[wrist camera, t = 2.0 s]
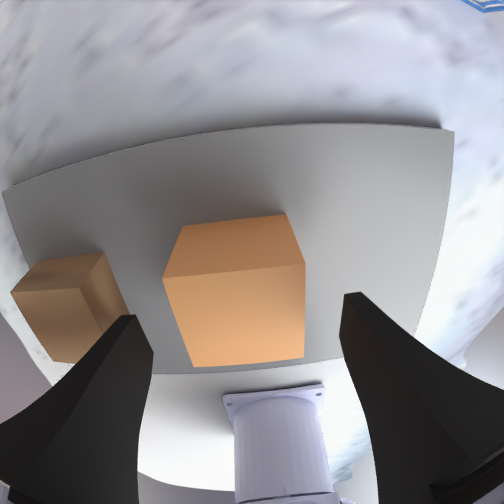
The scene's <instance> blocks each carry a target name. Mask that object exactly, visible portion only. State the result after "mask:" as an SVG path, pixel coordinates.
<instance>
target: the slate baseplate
mask: <svg viewBox="0 0 504 504" xmlns="http://www.w3.org/2000/svg"><path fill="white" fill-rule="evenodd" d="M453 153H454V132H453V131H449V130H446V129H441V128H433V127H423V126H413V125H401V124H384V123H354V122H328V123H297V124H280V125H267V126H256V127H246V128H237V129H229V130H221V131H214V132H207V133H201V134H194V135H188V136H183V137H177V138H172V139H167V140H162V141H157V142H152V143H147V144H143V145H139V146H134V147H130V148H126V149H122V150H118V151H114V152H110V153H107V154H103V155H100V156H96V157H93V158H89V159H86V160H83V161H79V162H76V163H73V164H70V165H67V166H64V167H61V168H58V169H55V170H52V171H49V172H46V173H44V174H41V175H38V176H36V177H33V178H30V179H28V180H25V181H23V182H20V183H18V184H16V185H13V186H11V187H9V188H8V189H6V190H4V191H2V195H3V198H4V202H5V205H6V208H7V211H8V214H9V217H10V220H11V223H12V226H13V229H14V231H15V234H16V237H17V239H18V242H19V244H20V247H21V249H22V252H23V254H24V257H25V259H26V261H27V264H28V266H29V268H30V269H31V268H32V267H33V266H34V265H35V264H36V263H37V261H44V260H50V259H57V258H64V257H71V256H78V255H85V254H92V253H100V252H105V253H106V256H107V259H108V261H109V264H110V267H111V269H112V272H113V274H114V277H115V280H116V282H117V285H118V287H119V289H120V292H121V294H122V297H123V299H124V301H125V304H126V306H127V308H128V310H129V313H130V315H132V314H136V316H137V318H138V320H139V322H140V325H141V327H142V329H143V331H144V333H145V335H146V337H147V339H148V342H149V344H150V346H151V348H152V350H153V352H154V357H153V367H152V374H198V373H220V372H235V371H248V370H259V369H268V368H277V367H286V366H293V365H301V364H307V363H314V362H320V361H326V360H332V359H338V358H343V357H344V355H343V351H342V347H341V343H340V339H339V330H340V323H341V315H342V307H343V299H344V294H347V293H353V292H360V291H361V292H362V293H363V294H364V295H365V296H367V297H368V298H369V299H370V300H371V301H372V302H373V303H374V304H376V305H377V306H378V307H379V308H380V309H381V310H382V311H383V312H384V313H386V314H387V315H388V316H389V317H390V318H391V319H392V320H393V321H395V322H396V323H397V324H398V325H399V326H400V327H402V328H403V329H404V330H405V331H406V332H408V333H409V334H410V335H411V336H413V337H414V334H415V331H416V329H417V326H418V323H419V320H420V317H421V314H422V311H423V308H424V305H425V302H426V299H427V295H428V292H429V289H430V285H431V282H432V278H433V274H434V270H435V266H436V262H437V258H438V254H439V250H440V245H441V240H442V236H443V231H444V225H445V220H446V214H447V208H448V201H449V194H450V186H451V177H452V166H453ZM283 214H287V217H288V219H289V222H290V224H291V227H292V229H293V232H294V235H295V237H296V240H297V242H298V245H299V247H300V250H301V253H302V255H303V258H304V261H305V263H306V295H305V341H304V357H303V358H296V359H288V360H280V361H272V362H262V363H252V364H241V365H227V366H210V367H194V366H193V364H192V361H191V359H190V356H189V354H188V351H187V349H186V346H185V343H184V341H183V338H182V335H181V333H180V330H179V327H178V325H177V322H176V319H175V316H174V313H173V311H172V308H171V305H170V302H169V299H168V296H167V293H166V290H165V287H164V284H163V281H162V277H163V274H164V271H165V269H166V266H167V264H168V261H169V259H170V256H171V254H172V251H173V249H174V246H175V244H176V241H177V239H178V236H179V234H180V231H181V229H182V227H183V226H188V225H196V224H203V223H212V222H220V221H228V220H237V219H246V218H255V217H264V216H274V215H283Z"/></svg>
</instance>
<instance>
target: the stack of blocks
mask: <svg viewBox="0 0 504 504" xmlns="http://www.w3.org/2000/svg"><path fill="white" fill-rule="evenodd" d="M462 1H463V2H465V3H467V4H469V5H471V6H473V7H474V8H476V9H478V10H479V11H481V12H483V13H487V12H494V11H504V0H462Z"/></svg>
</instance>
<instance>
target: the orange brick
mask: <svg viewBox="0 0 504 504" xmlns="http://www.w3.org/2000/svg"><path fill="white" fill-rule="evenodd" d="M162 281H163V284H164V287H165V290H166V293H167V296H168V299H169V302H170V305H171V308H172V311H173V313H174V316H175V319H176V322H177V325H178V327H179V330H180V333H181V335H182V338H183V341H184V343H185V346H186V349H187V351H188V354H189V356H190V359H191V361H192V364H193V366H194V367H210V366H227V365H241V364H252V363H262V362H272V361H280V360H288V359H296V358H303V357H304V341H305V295H306V263H305V261H304V258H303V255H302V253H301V250H300V247H299V245H298V242H297V240H296V237H295V235H294V232H293V229H292V227H291V224H290V222H289V219H288V217H287V214H283V215H274V216H264V217H255V218H246V219H237V220H228V221H220V222H212V223H203V224H196V225H188V226H183V227H182V229H181V231H180V234H179V236H178V239H177V241H176V244H175V246H174V249H173V251H172V254H171V256H170V259H169V261H168V264H167V266H166V269H165V271H164V274H163V277H162Z"/></svg>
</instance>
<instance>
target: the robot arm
mask: <svg viewBox="0 0 504 504" xmlns="http://www.w3.org/2000/svg"><path fill="white" fill-rule="evenodd" d="M339 339H340V343H341V347H342V351H343V355H344V359H345V362H346V365H347V368H348V370H349V373H350V376H351V378H352V381H353V384H354V386H355V389H356V392H357V394H358V397H359V400H360V402H361V405H362V408H363V411H364V414H365V417H366V421H367V425H368V430H369V434H370V439H371V444H372V450H373V455H374V461H375V468H376V476H377V485H378V499H379V504H504V390H503V389H500V388H498V387H495V386H493V385H491V384H488V383H485V382H484V381H482V380H480V379H478V378H475V377H474V376H472V375H470V374H468V373H466V372H464V371H463V370H461V369H459V368H457V367H456V366H454V365H452V364H451V363H449V362H447V361H446V360H444V359H443V358H441V357H440V356H438V355H437V354H435V353H434V352H432V351H431V350H430V349H428V348H427V347H426V346H424V345H423V344H422V343H420V342H419V341H418V340H416V339H415V338H414V337H413V336H411V335H410V334H409V333H408V332H406V331H405V330H404V329H403V328H402V327H400V326H399V325H398V324H397V323H396V322H395V321H393V320H392V319H391V318H390V317H389V316H388V315H387V314H386V313H384V312H383V311H382V310H381V309H380V308H379V307H378V306H377V305H376V304H374V303H373V302H372V301H371V300H370V299H369V298H368V297H367V296H365V295H364V294H363V293H362V292H361V291H360V292H353V293H347V294H344V299H343V307H342V315H341V323H340V330H339ZM153 357H154V352H153V350H152V348H151V346H150V344H149V342H148V339H147V337H146V335H145V333H144V331H143V329H142V327H141V325H140V322H139V320H138V318H137V316H136V314H132V315H121V316H120V317H119V318H118V319H117V320H116V321H115V322H114V323H113V324H112V325H111V326H110V327H109V328H108V329H107V330H106V331H105V333H104V334H103V335H102V336H101V337H100V338H99V339H98V340H97V341H96V343H95V344H94V345H93V346H92V347H91V348H90V349H89V350H88V352H87V353H86V354H85V355H84V356H83V357H82V358H81V359H80V360H79V361H78V362H77V363H76V364H75V365H74V366H73V367H72V368H71V370H70V371H69V372H68V373H67V374H66V375H65V376H64V377H63V378H62V379H61V380H60V381H58V382H57V383H56V384H55V385H54V386H53V387H52V388H51V389H50V390H48V391H47V392H46V393H45V394H44V395H42V396H41V397H40V398H39V399H37V400H36V401H35V402H33V403H32V404H31V405H29V406H28V407H27V408H26V409H24V410H23V411H21V412H20V413H18V414H16V415H15V416H13V417H12V418H10V419H8V420H7V421H5V422H3V423H1V424H0V480H1V481H3V482H4V483H6V484H8V485H9V486H10V489H9V488H7V487H6V486H4V485H3V484H1V483H0V504H139V498H138V481H137V458H138V441H139V433H140V426H141V421H142V417H143V412H144V408H145V403H146V399H147V394H148V390H149V386H150V381H151V376H152V367H153ZM324 395H325V386H324V385H323V384H318V385H311V386H305V387H298V388H291V389H283V390H274V391H265V392H254V393H242V394H227V395H224V396H223V404H224V406H225V409H226V412H227V414H228V417H229V419H230V422H231V424H232V427H233V429H234V463H235V504H356V503H355V502H353V501H351V500H349V499H348V498H341V499H339V494H338V492H334V490H333V485H332V479H331V474H330V469H329V464H328V458H327V453H326V448H325V443H324V438H323V433H322V429H321V424H320V416H321V411H322V406H323V401H324Z"/></svg>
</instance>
